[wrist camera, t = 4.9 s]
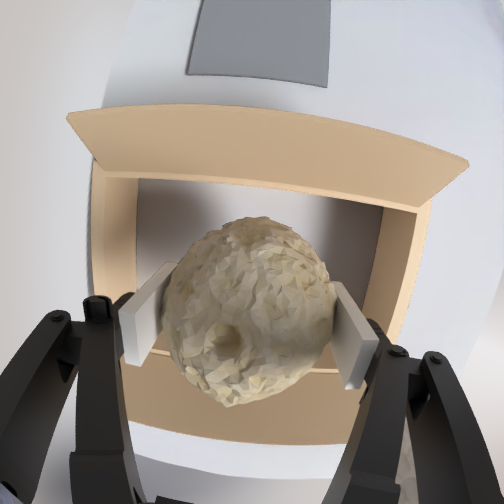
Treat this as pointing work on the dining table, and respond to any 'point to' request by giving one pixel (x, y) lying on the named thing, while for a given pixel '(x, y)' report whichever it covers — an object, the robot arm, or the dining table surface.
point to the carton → (265, 176)
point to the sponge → (248, 311)
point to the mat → (264, 40)
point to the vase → (407, 471)
